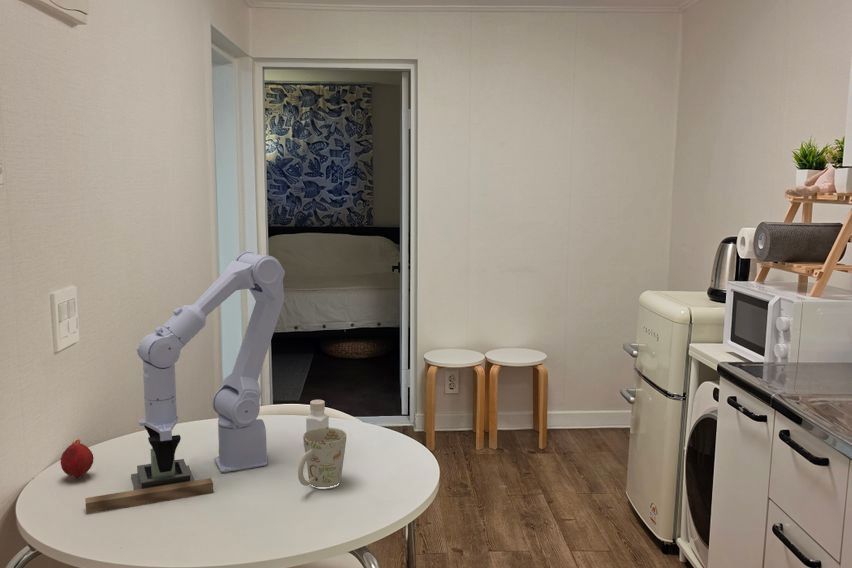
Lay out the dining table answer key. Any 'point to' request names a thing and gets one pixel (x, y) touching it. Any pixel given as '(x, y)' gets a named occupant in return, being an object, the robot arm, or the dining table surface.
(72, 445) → the onion
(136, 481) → the keeper
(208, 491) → the door edge rail
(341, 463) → the mug
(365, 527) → the dining table surface
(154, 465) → the stop block
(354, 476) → the dining table surface
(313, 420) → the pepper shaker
